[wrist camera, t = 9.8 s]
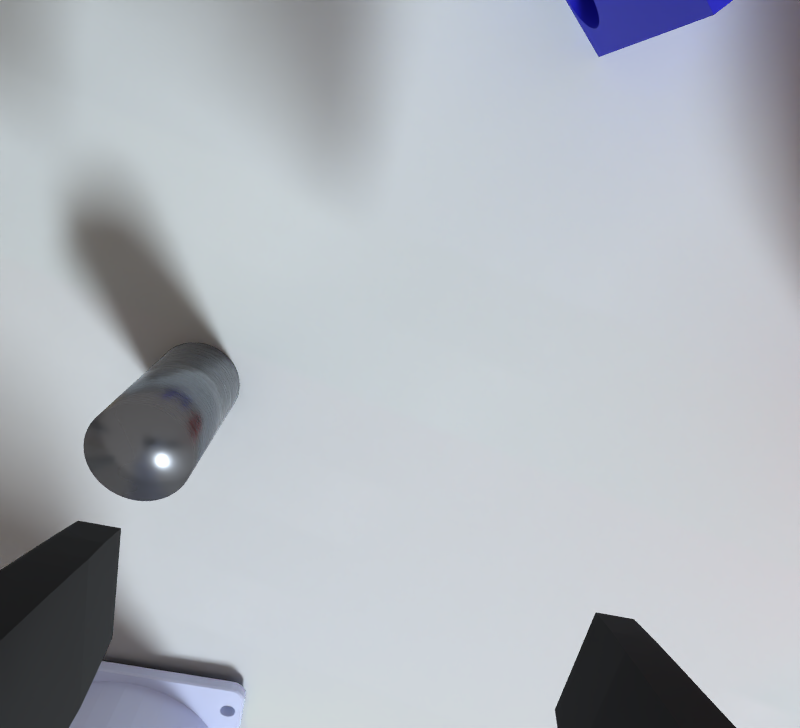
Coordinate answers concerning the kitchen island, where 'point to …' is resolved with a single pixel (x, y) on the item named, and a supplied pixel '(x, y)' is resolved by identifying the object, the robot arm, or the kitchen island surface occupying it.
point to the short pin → (162, 423)
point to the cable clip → (636, 19)
